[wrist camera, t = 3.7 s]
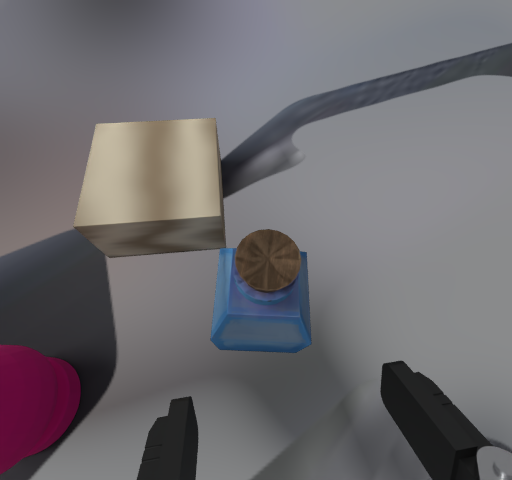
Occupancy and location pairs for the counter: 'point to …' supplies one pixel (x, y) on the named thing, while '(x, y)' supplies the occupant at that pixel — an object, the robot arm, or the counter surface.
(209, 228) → the birch block
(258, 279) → the perfume bottle
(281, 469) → the counter surface
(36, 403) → the pepper mill
